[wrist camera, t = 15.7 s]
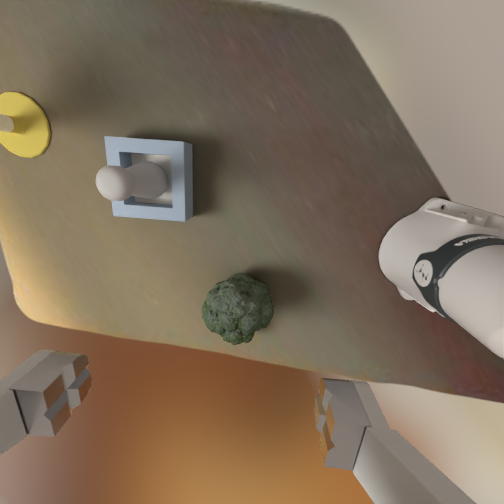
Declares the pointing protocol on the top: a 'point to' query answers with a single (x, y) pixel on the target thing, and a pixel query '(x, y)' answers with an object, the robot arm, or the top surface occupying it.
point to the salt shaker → (132, 181)
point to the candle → (23, 125)
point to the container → (175, 166)
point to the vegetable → (238, 308)
